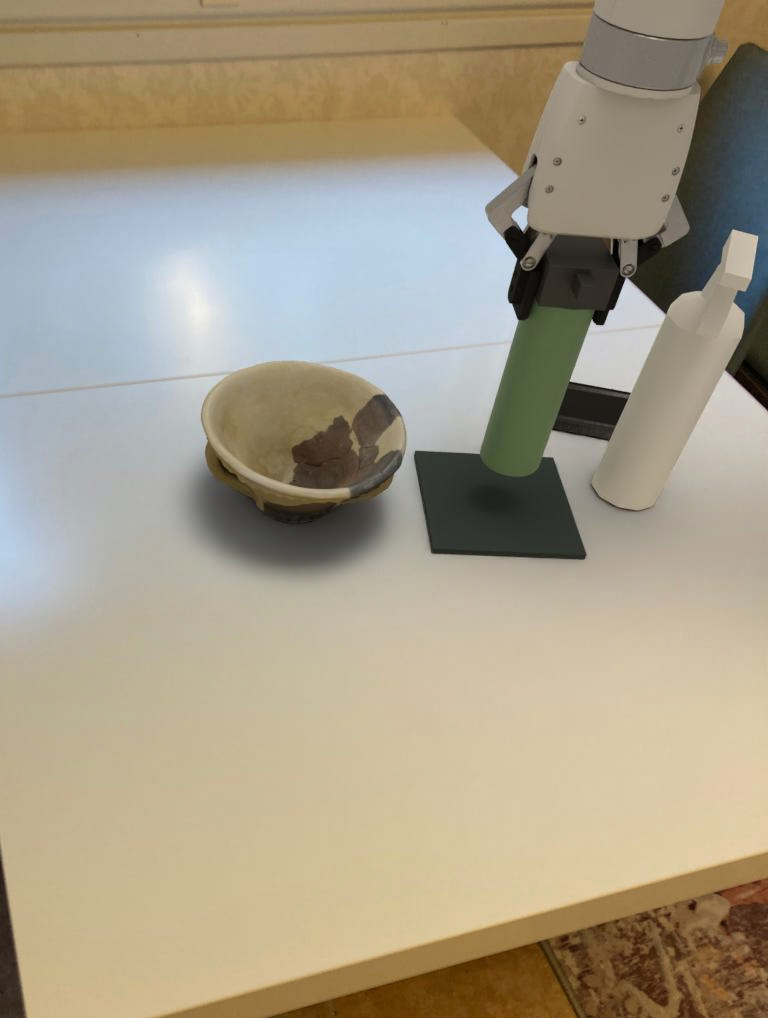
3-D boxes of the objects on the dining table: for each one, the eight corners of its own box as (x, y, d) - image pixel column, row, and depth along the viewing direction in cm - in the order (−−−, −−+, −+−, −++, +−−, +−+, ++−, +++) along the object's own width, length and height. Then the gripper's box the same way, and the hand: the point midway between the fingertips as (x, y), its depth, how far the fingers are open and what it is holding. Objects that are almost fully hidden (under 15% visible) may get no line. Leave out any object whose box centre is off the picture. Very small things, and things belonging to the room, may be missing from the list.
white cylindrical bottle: (669, 461, 95) (788, 215, 76) (653, 532, 87) (781, 278, 68) (604, 441, 96) (705, 195, 77) (582, 509, 88) (689, 255, 70)
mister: (475, 438, 85) (534, 231, 71) (532, 441, 86) (603, 236, 71) (488, 488, 80) (554, 278, 66) (548, 491, 81) (628, 283, 66)
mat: (551, 461, 93) (553, 457, 92) (584, 559, 84) (587, 554, 83) (413, 455, 92) (414, 450, 91) (432, 553, 83) (433, 548, 82)
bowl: (180, 554, 80) (180, 465, 73) (219, 430, 92) (222, 344, 85) (383, 586, 79) (403, 500, 72) (396, 457, 91) (413, 372, 84)
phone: (533, 374, 101) (672, 399, 100) (530, 383, 102) (668, 408, 101) (531, 415, 96) (678, 443, 95) (528, 425, 97) (674, 451, 95)
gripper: (749, 45, 63) (648, 296, 76) (500, 23, 61) (442, 282, 75) (791, 86, 58) (675, 346, 71) (522, 62, 56) (456, 332, 70)
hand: (557, 311), depth 73 cm, fingers closed on mister, 5 cm apart
